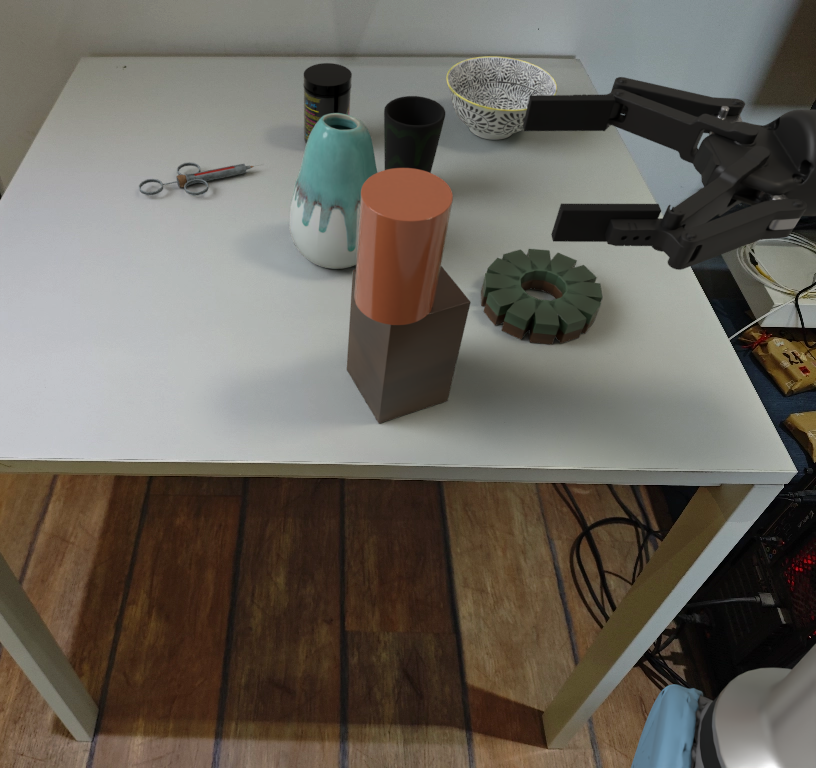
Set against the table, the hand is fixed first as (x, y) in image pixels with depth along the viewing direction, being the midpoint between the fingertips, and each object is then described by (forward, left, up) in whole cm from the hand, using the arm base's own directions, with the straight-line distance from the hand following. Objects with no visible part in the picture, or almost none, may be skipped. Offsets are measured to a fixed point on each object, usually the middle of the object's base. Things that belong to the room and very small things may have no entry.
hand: (540, 163), depth 54 cm
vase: (+28, +4, -28) cm, 40 cm away
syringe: (+49, +15, -28) cm, 58 cm away
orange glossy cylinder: (+4, +9, -14) cm, 17 cm away
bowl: (+46, -30, -28) cm, 62 cm away
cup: (+36, -10, -28) cm, 47 cm away
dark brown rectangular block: (+5, +7, -28) cm, 29 cm away
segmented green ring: (+10, -14, -28) cm, 33 cm away
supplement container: (+52, -5, -28) cm, 59 cm away
